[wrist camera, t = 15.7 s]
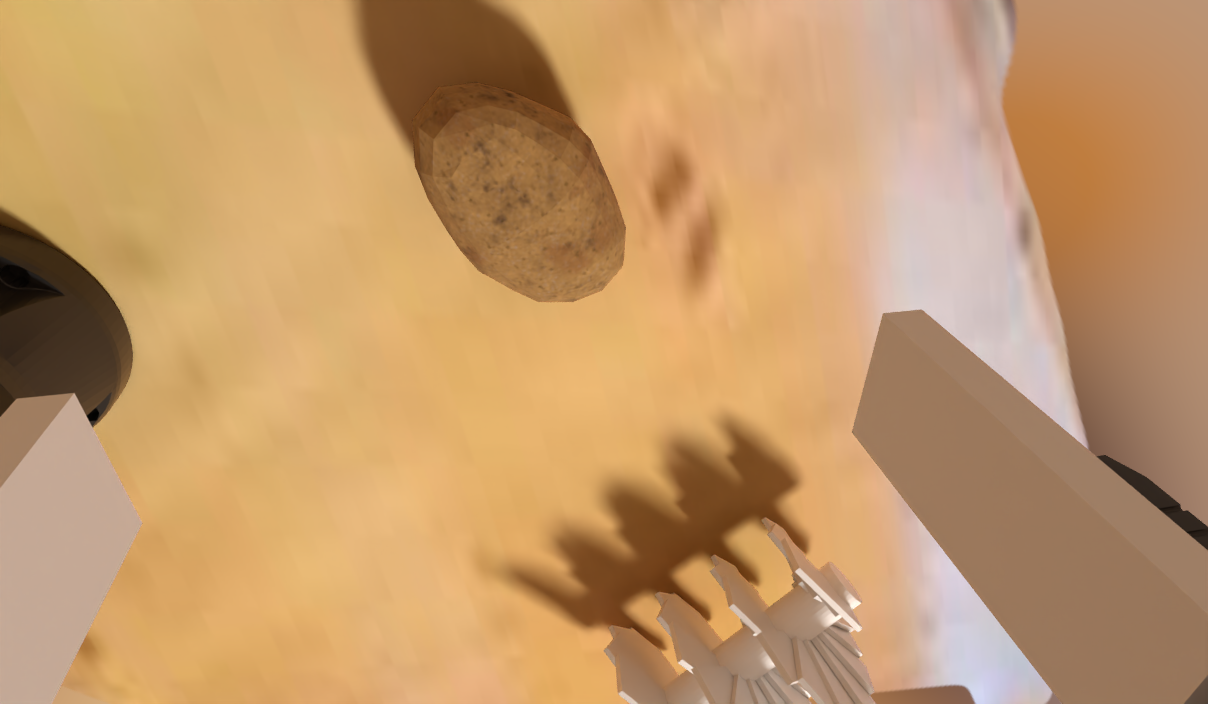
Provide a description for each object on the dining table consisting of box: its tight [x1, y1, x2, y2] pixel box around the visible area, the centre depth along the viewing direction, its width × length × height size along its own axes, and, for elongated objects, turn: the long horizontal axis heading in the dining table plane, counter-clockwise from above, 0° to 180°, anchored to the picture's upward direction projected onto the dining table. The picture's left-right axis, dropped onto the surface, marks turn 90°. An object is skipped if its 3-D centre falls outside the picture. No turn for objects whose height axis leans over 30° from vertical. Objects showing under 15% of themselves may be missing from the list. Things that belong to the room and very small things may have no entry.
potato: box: [412, 82, 626, 302], centre depth 38 cm, size 10×14×8 cm
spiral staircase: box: [604, 517, 876, 704], centre depth 60 cm, size 18×18×25 cm
